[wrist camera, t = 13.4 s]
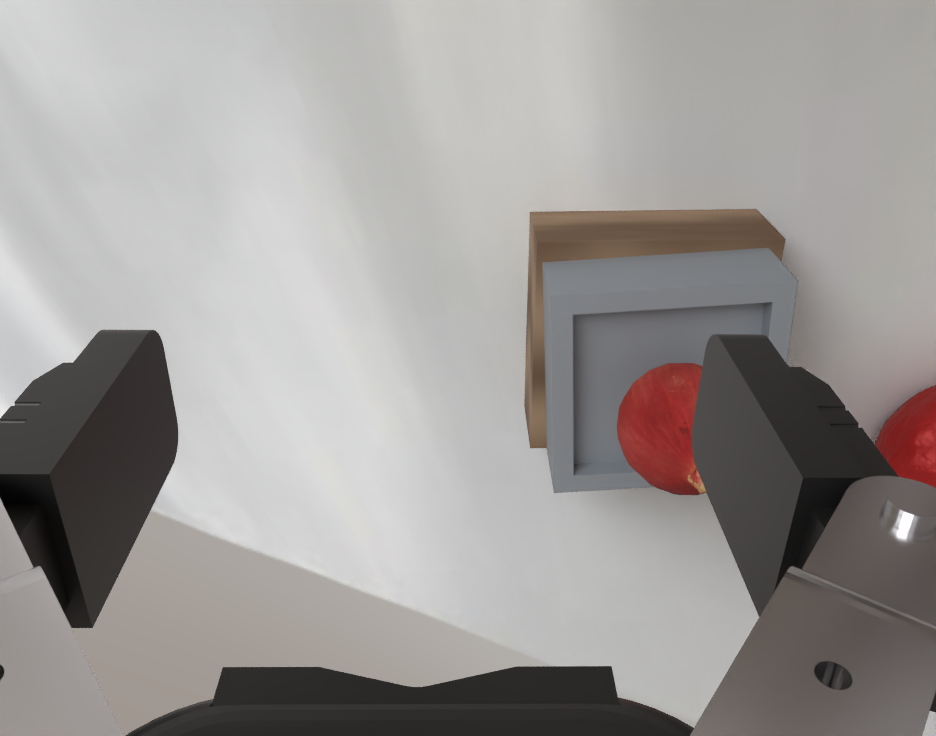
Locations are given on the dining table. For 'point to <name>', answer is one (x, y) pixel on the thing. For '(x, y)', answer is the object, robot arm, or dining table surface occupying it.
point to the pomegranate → (912, 438)
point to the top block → (641, 341)
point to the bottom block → (621, 238)
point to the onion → (662, 427)
